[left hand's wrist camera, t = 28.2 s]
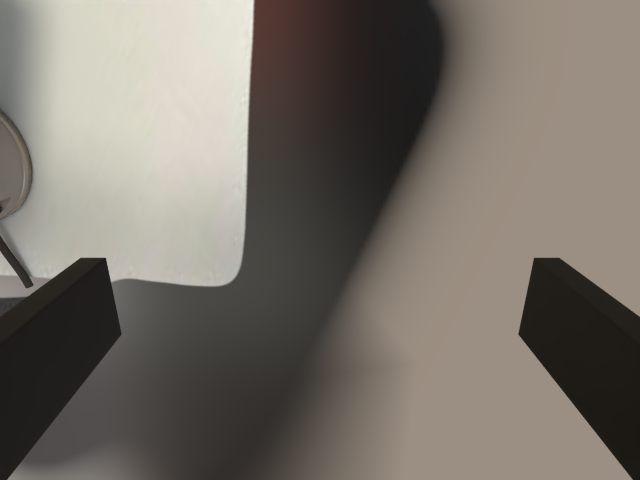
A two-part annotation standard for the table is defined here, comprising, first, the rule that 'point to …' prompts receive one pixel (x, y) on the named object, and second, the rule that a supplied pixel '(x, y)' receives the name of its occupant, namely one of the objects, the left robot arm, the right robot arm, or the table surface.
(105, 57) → the table surface
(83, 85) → the table surface
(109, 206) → the table surface
